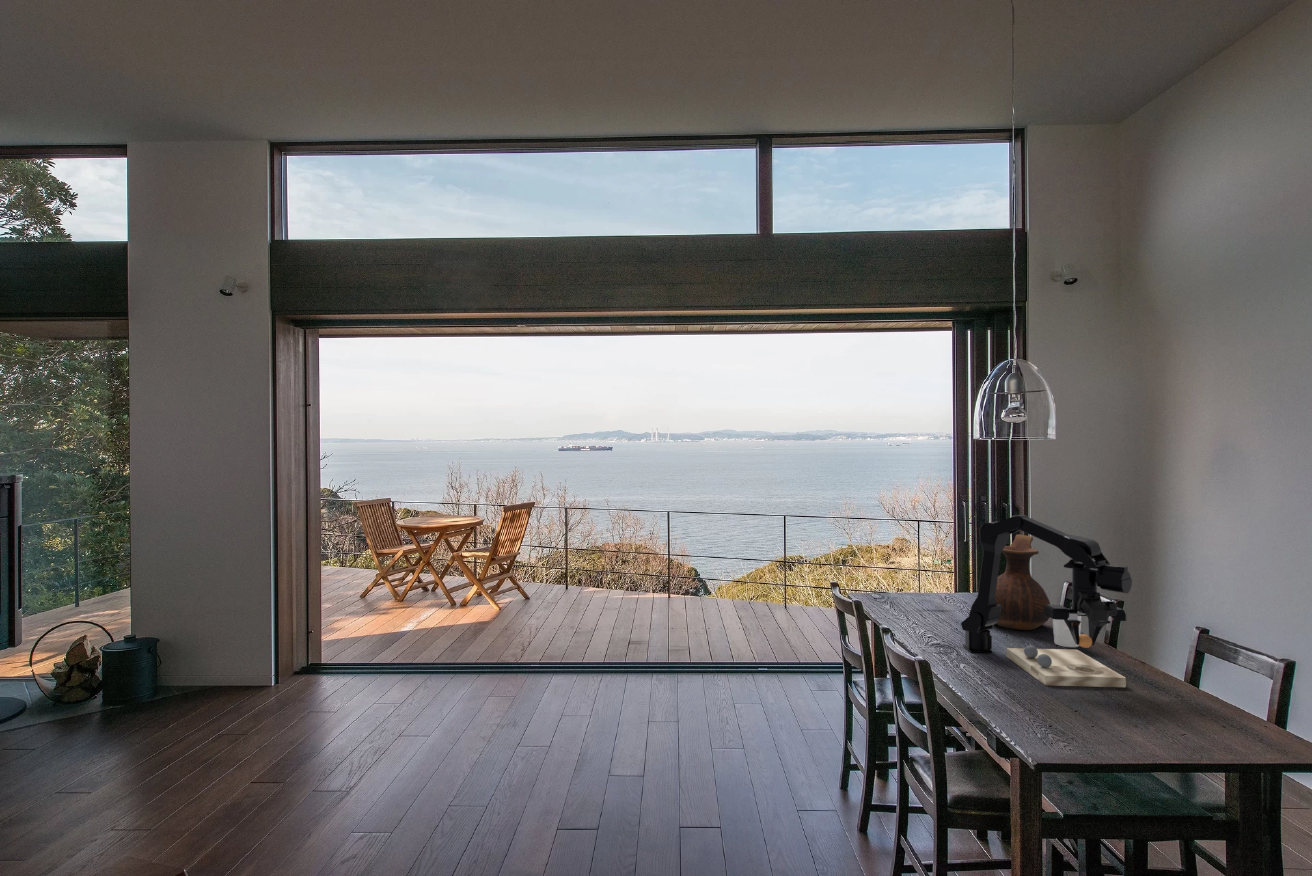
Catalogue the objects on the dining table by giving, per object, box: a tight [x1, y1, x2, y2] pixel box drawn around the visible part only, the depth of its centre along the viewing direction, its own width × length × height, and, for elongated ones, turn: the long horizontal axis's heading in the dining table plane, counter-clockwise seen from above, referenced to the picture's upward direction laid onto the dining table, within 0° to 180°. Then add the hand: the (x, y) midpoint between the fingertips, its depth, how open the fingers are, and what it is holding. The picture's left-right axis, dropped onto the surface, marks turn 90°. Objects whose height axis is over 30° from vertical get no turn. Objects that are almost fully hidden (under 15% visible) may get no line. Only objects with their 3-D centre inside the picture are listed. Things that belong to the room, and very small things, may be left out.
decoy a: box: [1024, 644, 1038, 658], centre depth 196 cm, size 4×4×4 cm
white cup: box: [1052, 616, 1082, 648], centre depth 218 cm, size 8×8×10 cm
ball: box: [1079, 633, 1093, 649], centre depth 187 cm, size 4×4×4 cm
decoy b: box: [1037, 654, 1052, 668], centre depth 188 cm, size 4×4×4 cm
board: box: [1005, 647, 1127, 688], centre depth 193 cm, size 20×24×2 cm
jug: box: [995, 534, 1051, 631], centre depth 240 cm, size 22×22×30 cm
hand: (1084, 644), depth 187 cm, fingers closed on ball, 3 cm apart
